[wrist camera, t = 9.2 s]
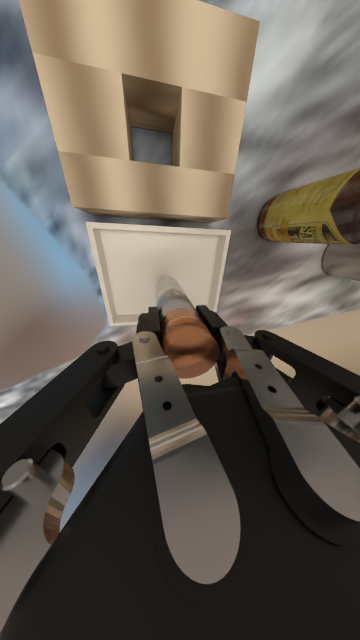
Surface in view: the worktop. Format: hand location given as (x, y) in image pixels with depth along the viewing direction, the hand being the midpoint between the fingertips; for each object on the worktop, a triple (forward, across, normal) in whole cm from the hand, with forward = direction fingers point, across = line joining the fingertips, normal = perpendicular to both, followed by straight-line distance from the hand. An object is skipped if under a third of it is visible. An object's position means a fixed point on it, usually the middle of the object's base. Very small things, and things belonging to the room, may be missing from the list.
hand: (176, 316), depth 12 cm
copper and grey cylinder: (+7, 0, 0) cm, 7 cm away
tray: (+15, 0, 0) cm, 15 cm away
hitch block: (+15, +1, -14) cm, 20 cm away
